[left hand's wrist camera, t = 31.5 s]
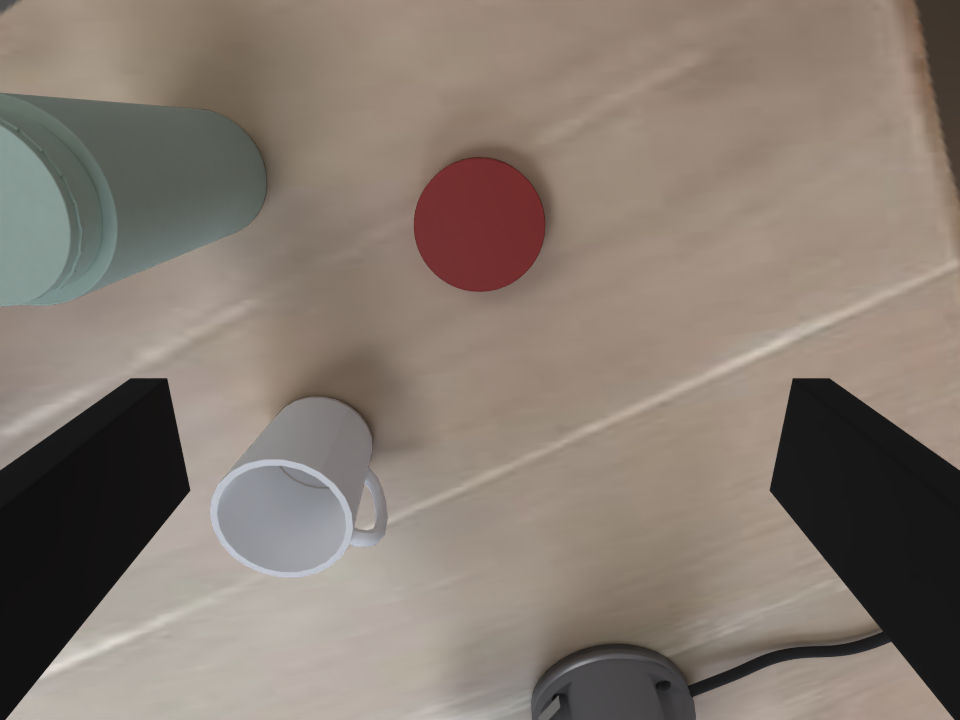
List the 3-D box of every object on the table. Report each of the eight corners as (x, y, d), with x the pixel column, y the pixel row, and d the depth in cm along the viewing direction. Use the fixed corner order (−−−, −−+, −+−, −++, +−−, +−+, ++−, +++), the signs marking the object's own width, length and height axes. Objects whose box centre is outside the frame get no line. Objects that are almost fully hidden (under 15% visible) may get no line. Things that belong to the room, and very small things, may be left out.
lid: (400, 257, 42) (395, 263, 40) (443, 136, 39) (441, 136, 37) (512, 301, 43) (514, 310, 41) (562, 187, 40) (567, 190, 38)
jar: (290, 200, 40) (132, 258, 22) (194, 256, 42) (-31, 355, 23) (217, 84, 38) (-32, 39, 19) (117, 147, 39) (-204, 162, 21)
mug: (252, 467, 48) (195, 552, 38) (283, 372, 45) (229, 438, 35) (381, 511, 49) (358, 603, 40) (419, 422, 46) (404, 499, 37)
